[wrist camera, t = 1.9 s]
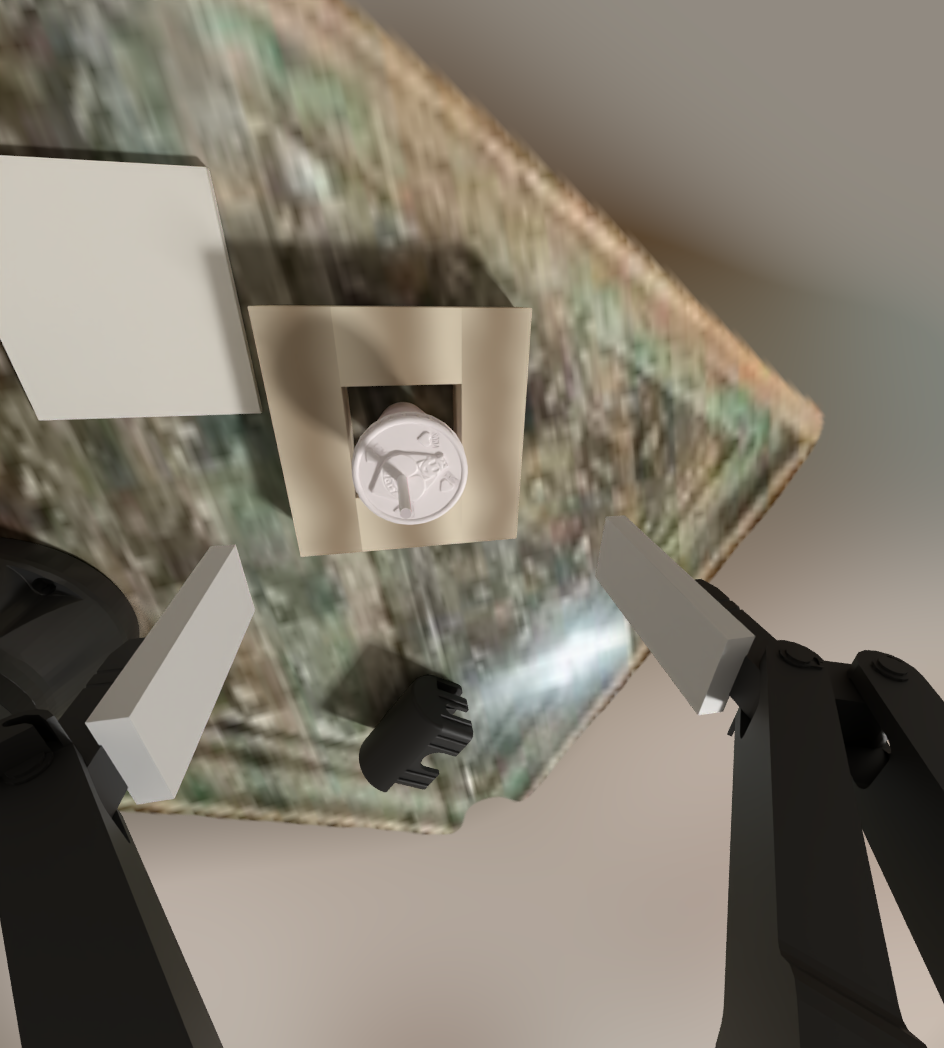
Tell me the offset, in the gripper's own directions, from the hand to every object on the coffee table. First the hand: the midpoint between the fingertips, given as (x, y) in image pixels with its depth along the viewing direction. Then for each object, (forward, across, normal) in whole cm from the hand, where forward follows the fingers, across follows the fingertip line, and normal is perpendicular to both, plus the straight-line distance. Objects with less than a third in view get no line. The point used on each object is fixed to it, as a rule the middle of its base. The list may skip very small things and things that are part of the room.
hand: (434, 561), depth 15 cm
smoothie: (+19, 0, 0) cm, 19 cm away
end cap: (+19, -2, -30) cm, 35 cm away
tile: (+18, -16, +8) cm, 26 cm away
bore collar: (+18, 0, 0) cm, 19 cm away
